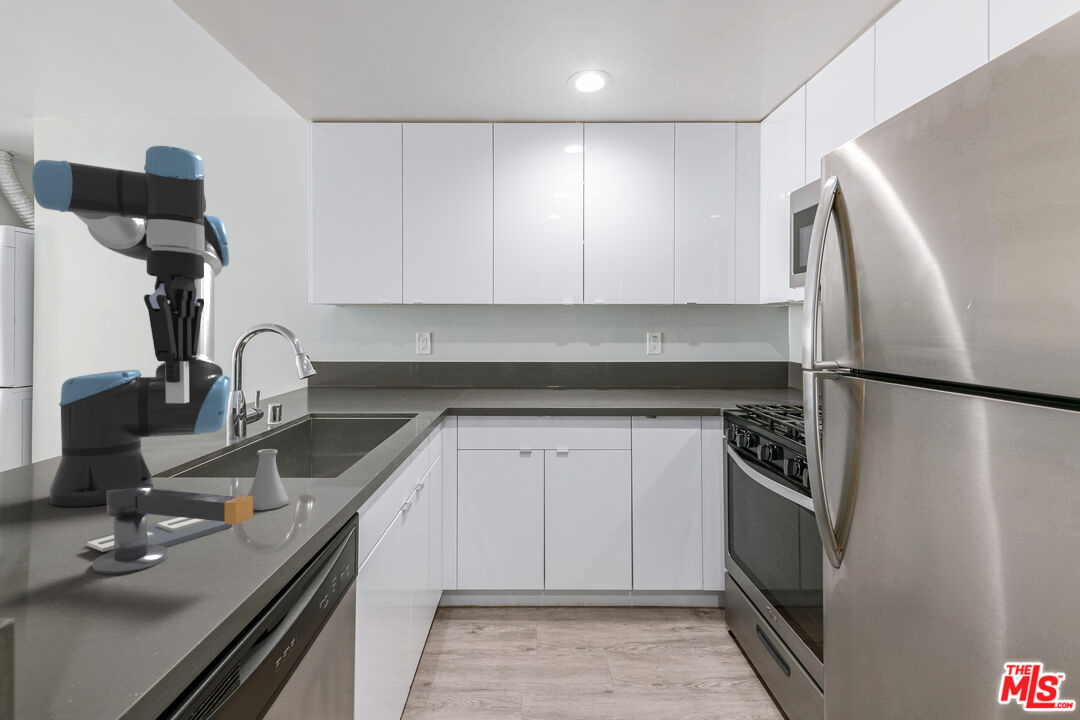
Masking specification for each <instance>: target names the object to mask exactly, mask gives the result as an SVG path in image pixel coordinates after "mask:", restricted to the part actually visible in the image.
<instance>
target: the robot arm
mask: <svg viewBox="0 0 1080 720" xmlns="http://www.w3.org/2000/svg"><path fill="white" fill-rule="evenodd" d="M143 168H144V169H143V170H144V171H145V172H140V171H134V170H133V171H132V170H126V169H117V168H113V167H112V168H110V167H103V166H97V165H91V164H84V163H83V164H82V163H77V162H70V161H68V160H49V159H40V160H38V161H36V163H34V165H33V168H32V175H31V176H32V181H31V182H32V190H33V195H34V199H35V201H36V203H37V204H38V205H39V206H40V207H41V208H43V209H46V210H52V211H56V212H57V211H59V212H61V213H66V212H69V213H73V214H74V215H75V216H76V217H77V218H78V219H80V220H81V222H83V223H84V224H85V225H86V226H87V230H88V232H89V234H90V235H91V236H92V238H93V239H94V240H95V241H96V243H97V242H98V244H100V245H102V246H103V247H104V248H106V249H107V250H111V251H112V252H116V253H117V254H120V255H123V256H124V257H125V256H126V257H128V258H132V259H135V260H140V261H146V273H147V275H149V276H150V277H151V276H152V277H156V279H155V283H154V291H153V293H152V294H149V293H148V294H146V293H145V294H144V296H143V300H144V304H145V306H146V308H147V310H148V317H149V324H150V325H149V326H150V331H151V336H152V342H153V349H154V355H155V358H156V359H157V360H156V361H158V362H162V363H160V364H159V365H158V366H157V367H156V369H155V376H144V377H143V376H142V373H141V371H140V370H138V369H128V370H118V371H109V372H108V371H107V372H101V373H94V374H93V373H92V374H86V375H80V376H74V377H71V378H68V379H66V380H65V381H64V382H63V383H62V385H61V392H60V402H59V404H58V405H59V407H60V430H61V433H60V434H61V440H60V441H61V460H60V462H59V465H58V468H57V470H56V473H55V476H54V477H53V480H52V483H51V485H50V487H49V504H51V505H52V506H58V507H71V508H72V507H90V506H100V505H107V490H109V489H111V488H114V487H117V486H122V485H128V484H140V483H145V484H152V485H153V477H152V474H151V472H150V469H149V466H148V464H147V462H146V460H145V457H144V456H143V452H142V438H152V437H153V438H155V437H172V436H188V435H189V436H190V435H195V436H200V435H202V434H203V435H204V434H211V433H212V434H213V433H217V432H220V431H221V430H222V429H223V428H224V426H225V424H226V421H227V420H226V419H227V413H228V407H229V400H230V391H231V382H232V381H231V377H230V376H229V375H225V374H223V373H224V372H223V368H222V367H221V366H220V364H219V363H216V362H215V278H216V277H218V276H219V275H220V274H221V272H222V270H223V268H224V267H228V266H229V263H230V255H229V245H228V236H227V232H226V231H227V229H226V227H225V224H224V221H223V220H222V219H221V218H220V217H217V216H216V215H215V216H213V215H208V214H205V212H206V210H207V202H206V197H205V196H206V195H205V176H206V175H205V174H206V173H205V169H204V161H203V158H202V157H201V156H200V155H199V154H198V153H195V152H194V151H192V150H188V149H185V148H180V147H176V146H168V145H154V146H153V145H152V146H150V147H149V148H147V149H146V150H145V164H144V166H143Z"/></svg>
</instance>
